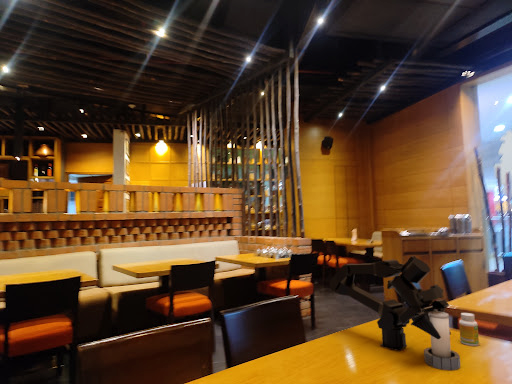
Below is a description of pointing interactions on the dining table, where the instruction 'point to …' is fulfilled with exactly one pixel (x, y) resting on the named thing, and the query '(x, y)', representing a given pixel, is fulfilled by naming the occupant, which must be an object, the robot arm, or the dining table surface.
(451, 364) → the collar
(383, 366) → the dining table surface
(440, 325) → the duct sleeve
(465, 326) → the supplement bottle
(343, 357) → the dining table surface
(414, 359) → the dining table surface
